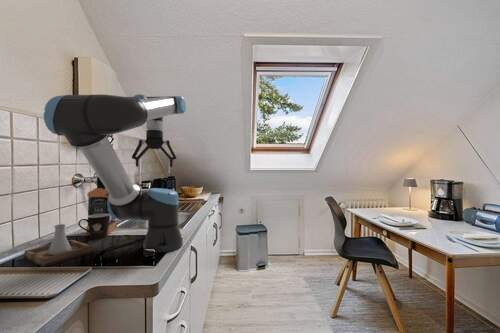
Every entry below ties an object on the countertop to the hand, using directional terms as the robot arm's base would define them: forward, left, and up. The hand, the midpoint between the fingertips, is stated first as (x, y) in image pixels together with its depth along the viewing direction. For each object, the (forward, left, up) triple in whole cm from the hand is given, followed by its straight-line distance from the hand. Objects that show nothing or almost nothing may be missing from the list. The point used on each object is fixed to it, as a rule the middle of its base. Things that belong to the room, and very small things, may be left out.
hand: (154, 173), depth 121 cm
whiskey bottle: (+22, +13, -29) cm, 39 cm away
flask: (+5, +38, -28) cm, 47 cm away
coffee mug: (+16, +19, -29) cm, 38 cm away
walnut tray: (+5, +38, -29) cm, 48 cm away
